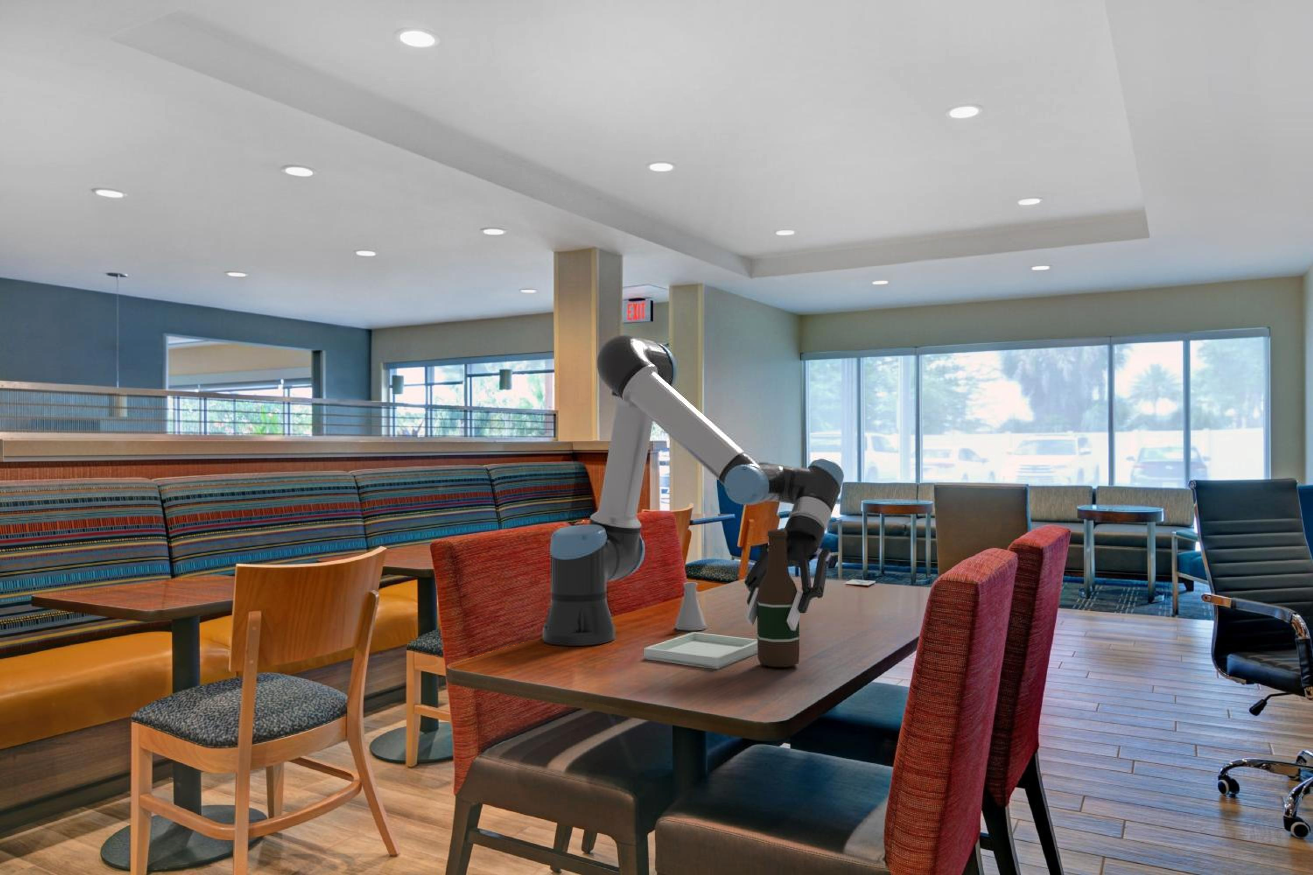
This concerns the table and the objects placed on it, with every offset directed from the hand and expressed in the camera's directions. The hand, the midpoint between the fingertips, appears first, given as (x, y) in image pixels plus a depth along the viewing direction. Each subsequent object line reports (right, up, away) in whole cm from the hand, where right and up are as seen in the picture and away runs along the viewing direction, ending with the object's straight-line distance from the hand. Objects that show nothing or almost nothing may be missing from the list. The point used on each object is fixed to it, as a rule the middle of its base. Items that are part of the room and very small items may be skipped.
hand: (769, 623), depth 159 cm
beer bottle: (+2, -8, +3) cm, 8 cm away
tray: (-11, -9, +12) cm, 19 cm away
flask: (-13, -9, +39) cm, 42 cm away
